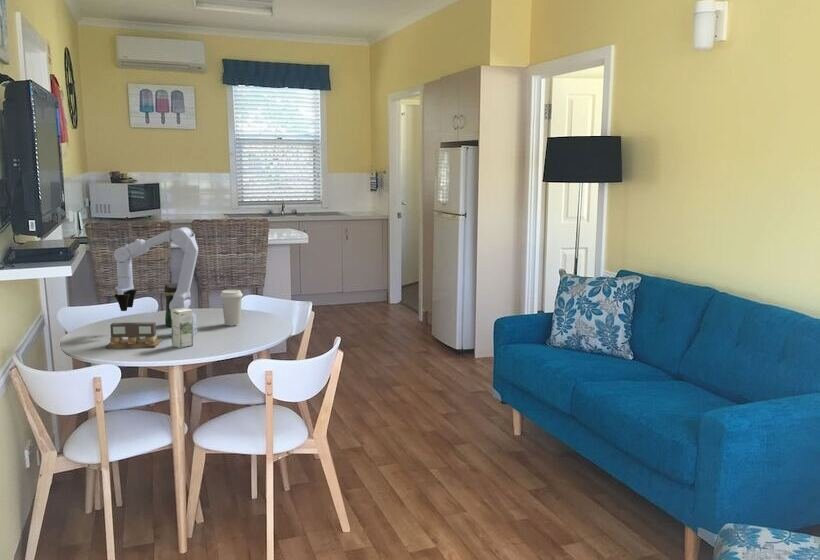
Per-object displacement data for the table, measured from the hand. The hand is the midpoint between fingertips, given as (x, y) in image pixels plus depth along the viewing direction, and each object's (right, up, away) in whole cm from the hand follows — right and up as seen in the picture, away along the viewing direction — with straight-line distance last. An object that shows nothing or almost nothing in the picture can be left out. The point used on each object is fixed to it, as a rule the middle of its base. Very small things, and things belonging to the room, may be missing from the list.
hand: (126, 309), depth 282 cm
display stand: (+10, -13, -16) cm, 23 cm away
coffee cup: (+38, -8, +20) cm, 44 cm away
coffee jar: (+14, -8, +19) cm, 25 cm away
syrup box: (+29, -14, -17) cm, 36 cm away
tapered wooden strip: (+10, -10, -17) cm, 22 cm away
